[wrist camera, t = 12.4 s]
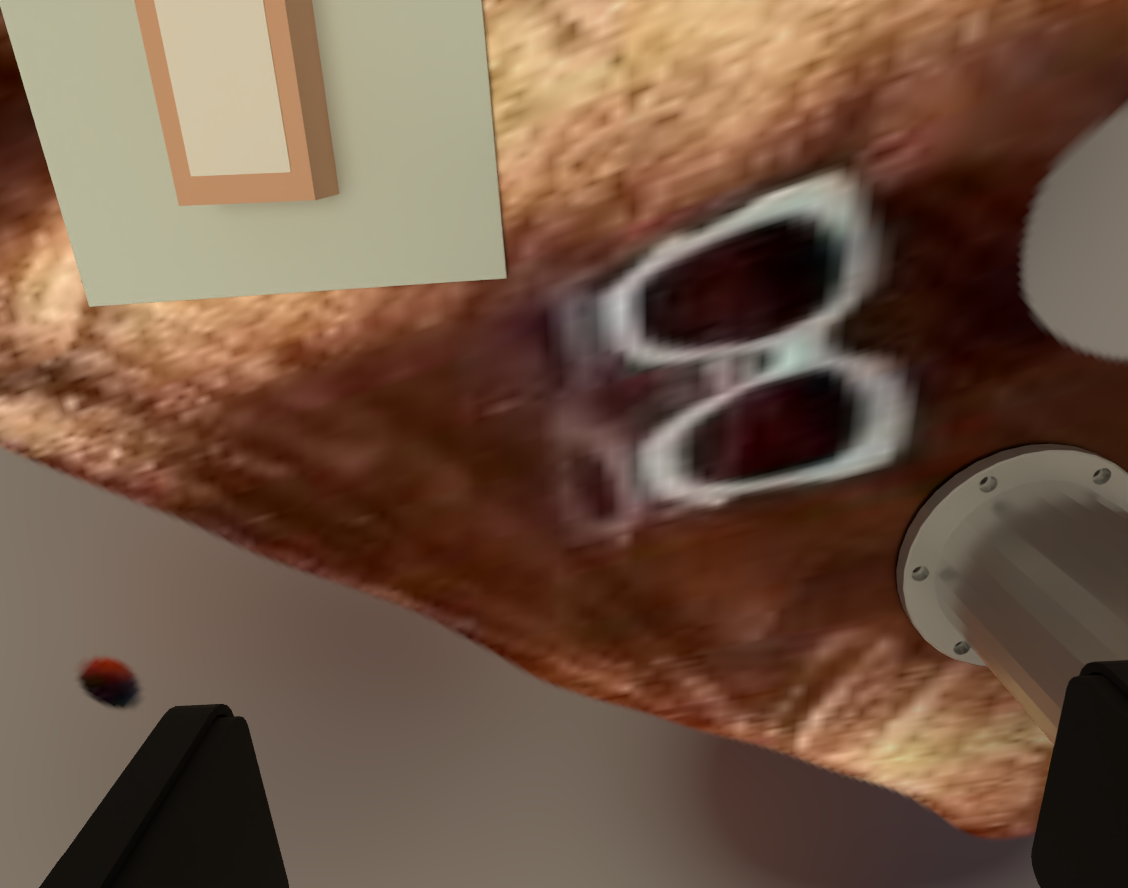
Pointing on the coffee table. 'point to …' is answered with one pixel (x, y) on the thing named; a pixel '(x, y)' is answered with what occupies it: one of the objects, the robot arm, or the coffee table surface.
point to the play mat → (273, 229)
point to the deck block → (240, 99)
